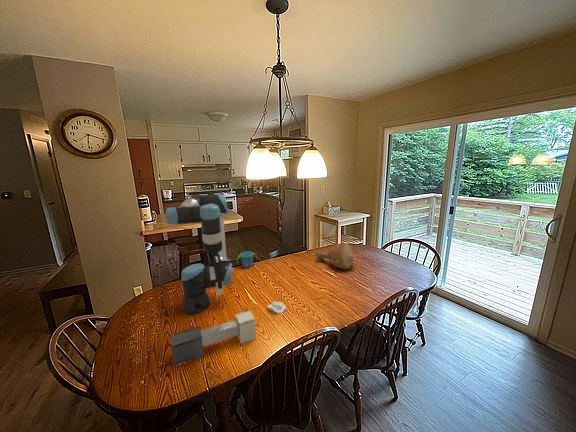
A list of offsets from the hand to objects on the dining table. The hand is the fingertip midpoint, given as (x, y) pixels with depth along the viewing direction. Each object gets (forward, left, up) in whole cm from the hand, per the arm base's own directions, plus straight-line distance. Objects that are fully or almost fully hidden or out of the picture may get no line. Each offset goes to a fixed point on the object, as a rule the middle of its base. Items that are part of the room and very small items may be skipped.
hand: (216, 286), depth 104 cm
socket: (+12, +1, -24) cm, 27 cm away
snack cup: (-17, +71, -25) cm, 77 cm away
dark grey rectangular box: (-6, -14, -24) cm, 29 cm away
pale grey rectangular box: (+4, -5, -21) cm, 22 cm away
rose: (+20, +24, -25) cm, 40 cm away
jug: (+49, +87, -25) cm, 103 cm away
